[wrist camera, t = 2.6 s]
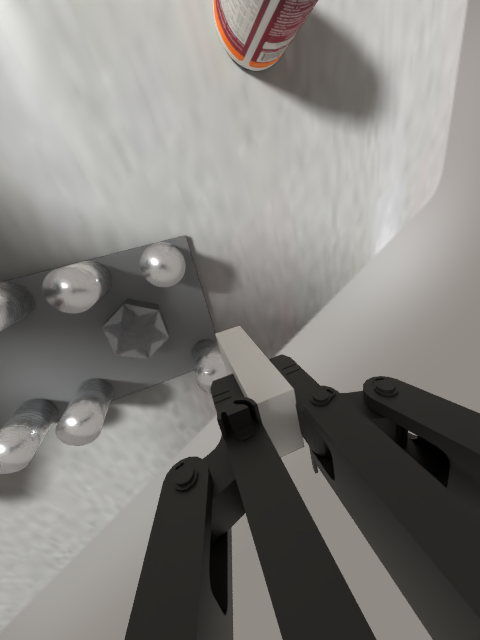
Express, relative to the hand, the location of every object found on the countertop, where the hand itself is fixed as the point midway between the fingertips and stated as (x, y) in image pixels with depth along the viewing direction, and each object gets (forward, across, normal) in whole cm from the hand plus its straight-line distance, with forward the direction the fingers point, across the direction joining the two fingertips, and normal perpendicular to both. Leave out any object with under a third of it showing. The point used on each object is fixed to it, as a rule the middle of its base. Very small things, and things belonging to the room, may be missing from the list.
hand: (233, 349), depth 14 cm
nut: (+10, -6, 0) cm, 12 cm away
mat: (+11, -12, 0) cm, 16 cm away
